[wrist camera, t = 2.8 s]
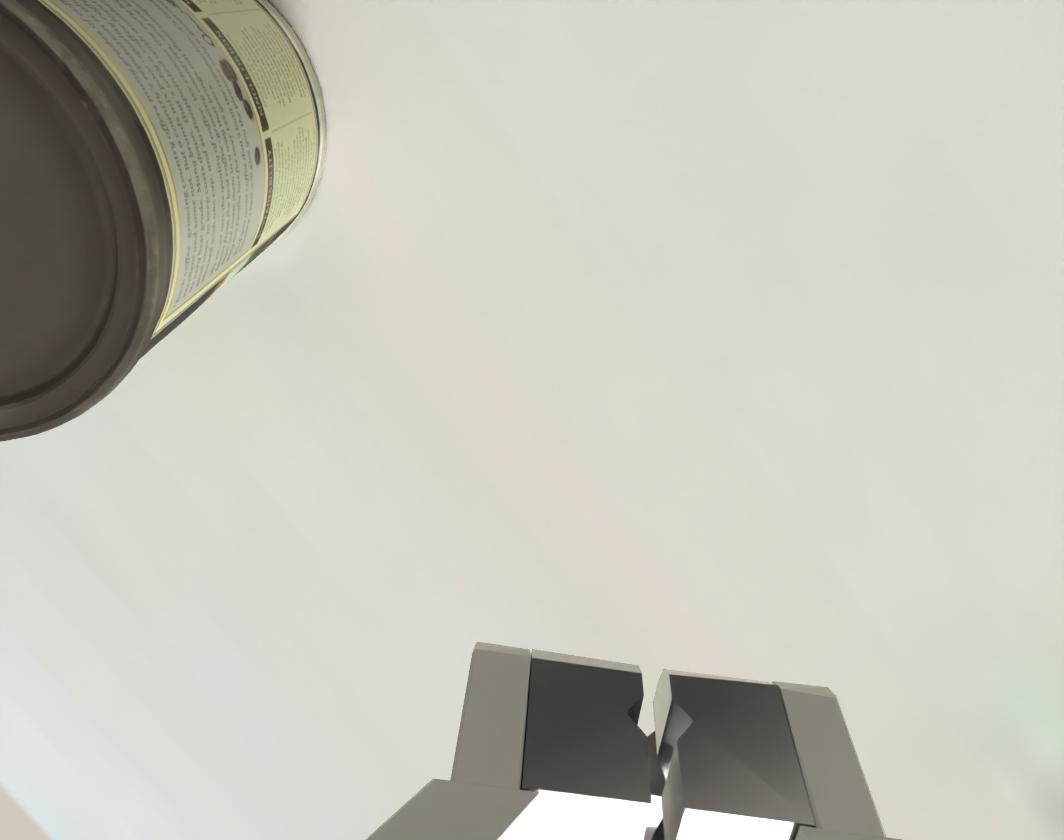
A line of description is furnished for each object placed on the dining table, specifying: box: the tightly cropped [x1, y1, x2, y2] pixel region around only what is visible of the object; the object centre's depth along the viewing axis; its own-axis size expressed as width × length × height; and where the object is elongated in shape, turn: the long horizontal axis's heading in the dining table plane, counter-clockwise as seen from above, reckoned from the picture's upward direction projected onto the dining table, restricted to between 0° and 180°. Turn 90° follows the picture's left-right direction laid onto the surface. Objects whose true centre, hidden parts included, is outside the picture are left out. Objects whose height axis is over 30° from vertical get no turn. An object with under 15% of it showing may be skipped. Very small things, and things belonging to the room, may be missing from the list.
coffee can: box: [0, 0, 326, 441], centre depth 25 cm, size 10×10×14 cm
